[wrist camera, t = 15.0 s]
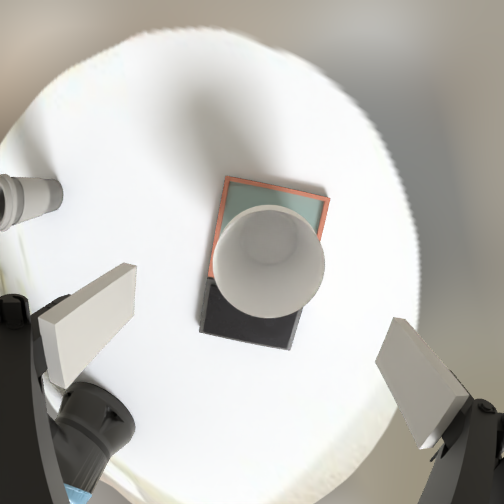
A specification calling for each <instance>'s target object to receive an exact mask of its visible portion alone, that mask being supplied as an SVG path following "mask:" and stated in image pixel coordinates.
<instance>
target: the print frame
mask: <svg viewBox="0 0 504 504" xmlns="http://www.w3.org/2000/svg"><path fill="white" fill-rule="evenodd" d="M329 202H330V198H328V197H324V196H319V195H315V194H311V193H307V192H302V191H298V190H294V189H289V188H285V187H280V186H275V185H271V184H266V183H261V182H256V181H251V180H246V179H241V178H235V177H230V176H226V177H225V182H224V187H223V192H222V198H221V203H220V208H219V214H218V219H217V225H216V230H215V236H214V242H213V248H212V253H211V259H210V265H209V271H208V277H213V278H214V274H213V255H214V250H215V247H216V244H217V242H218V240H219V238H220V236H221V234H222V232H223V230H224V228H225V227H226V226H227V224H228V223H229V222H230V221H231V220H232V219H233V218H234V217H235V216H237V215H238V214H239V213H241V212H243V211H245V210H247V209H249V208H252V207H255V206H260V205H278V206H282V207H286V208H288V209H291V210H293V211H295V212H297V213H298V214H299V215H301V216H302V217H303V218H305V219H306V220H307V221H308V223H309V224H310V225H311V226H312V228H313V229H314V231H315V233H316V235H317V237H318V239H319V241H320V240H321V236H322V232H323V228H324V224H325V219H326V215H327V211H328V206H329Z"/></svg>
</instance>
